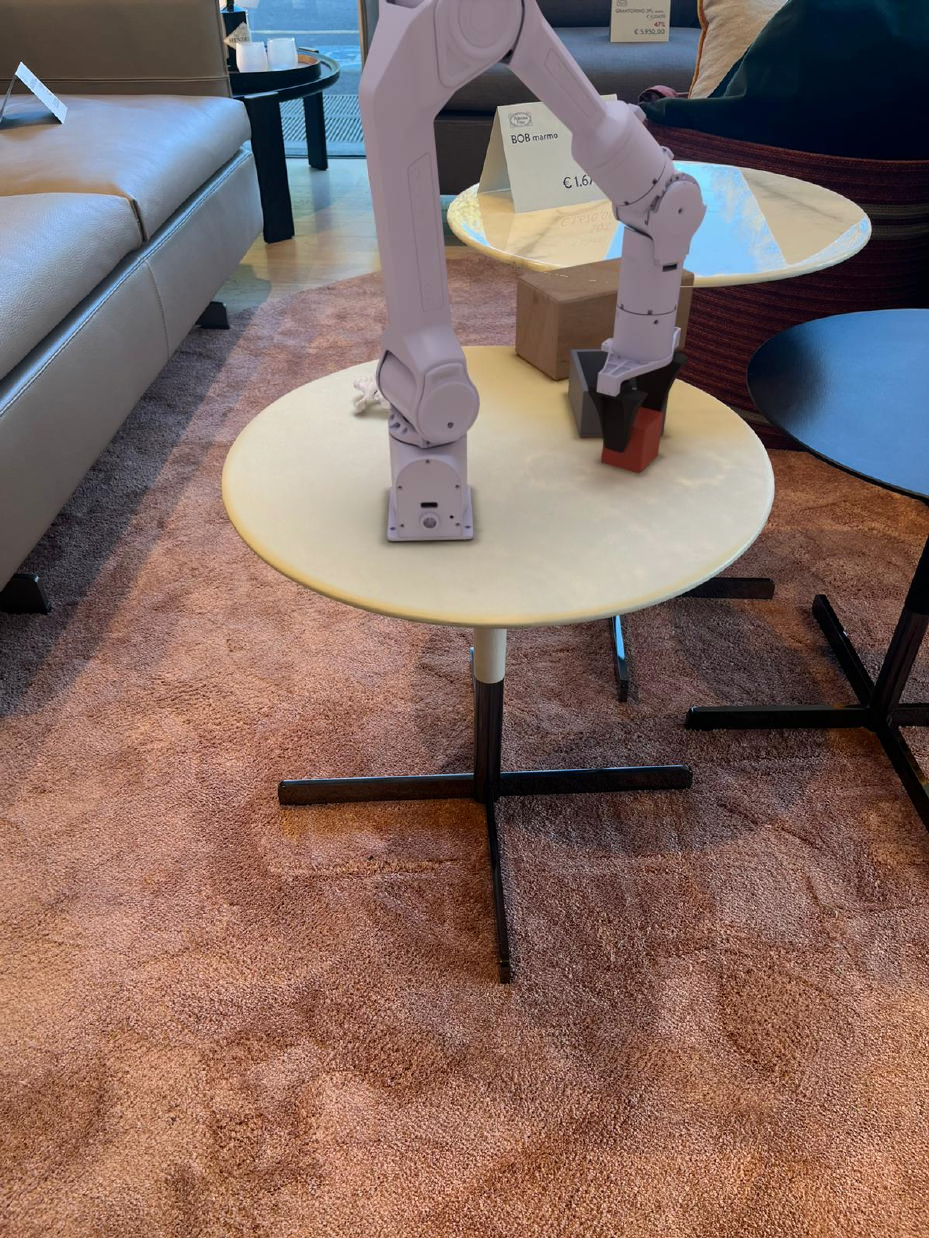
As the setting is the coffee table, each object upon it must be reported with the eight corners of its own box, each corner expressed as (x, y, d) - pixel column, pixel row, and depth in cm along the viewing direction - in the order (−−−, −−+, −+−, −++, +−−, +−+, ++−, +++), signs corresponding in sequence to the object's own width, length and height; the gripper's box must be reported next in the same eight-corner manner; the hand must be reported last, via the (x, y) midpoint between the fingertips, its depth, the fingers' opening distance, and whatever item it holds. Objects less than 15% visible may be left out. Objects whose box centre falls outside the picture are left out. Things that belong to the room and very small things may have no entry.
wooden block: (515, 275, 113) (647, 250, 121) (513, 353, 120) (639, 325, 127) (559, 300, 107) (696, 272, 114) (554, 382, 113) (685, 350, 120)
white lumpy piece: (421, 363, 108) (420, 382, 103) (422, 398, 111) (420, 419, 105) (353, 363, 108) (348, 382, 103) (355, 398, 110) (350, 419, 105)
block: (658, 455, 98) (664, 412, 95) (639, 473, 95) (645, 429, 92) (619, 445, 100) (624, 402, 97) (600, 462, 97) (604, 418, 94)
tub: (663, 436, 102) (669, 389, 98) (579, 437, 101) (583, 391, 98) (644, 392, 110) (650, 348, 107) (567, 393, 110) (570, 349, 107)
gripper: (641, 275, 94) (627, 399, 102) (572, 319, 85) (563, 452, 93) (707, 288, 91) (687, 415, 99) (643, 336, 81) (627, 471, 90)
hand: (631, 434), depth 96 cm, fingers open, 7 cm apart
